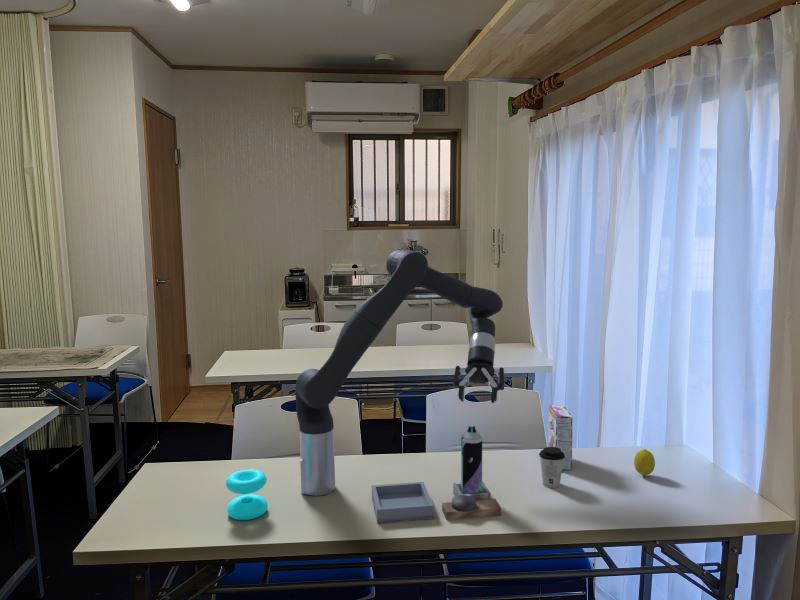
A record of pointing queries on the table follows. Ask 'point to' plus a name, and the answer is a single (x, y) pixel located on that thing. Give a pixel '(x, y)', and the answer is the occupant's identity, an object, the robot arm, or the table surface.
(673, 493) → the table surface
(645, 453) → the lemon
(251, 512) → the donuts
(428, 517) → the tray
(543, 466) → the coffee cup
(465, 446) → the spray can
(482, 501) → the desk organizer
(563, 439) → the candy bar box
